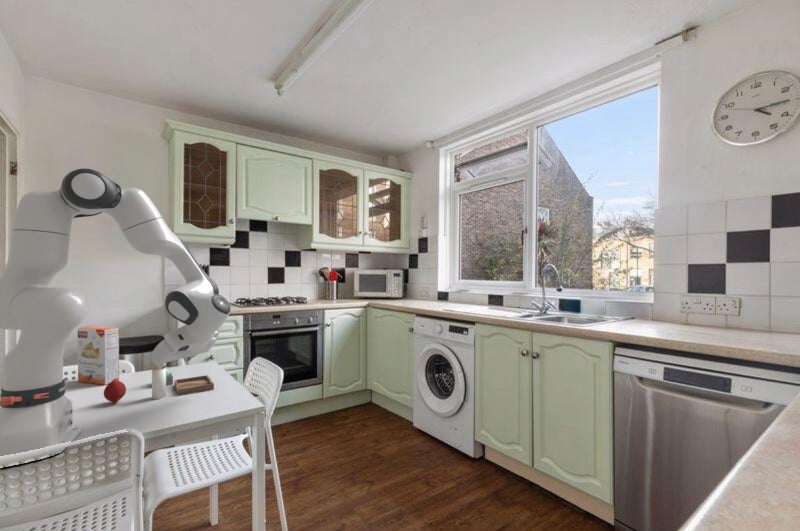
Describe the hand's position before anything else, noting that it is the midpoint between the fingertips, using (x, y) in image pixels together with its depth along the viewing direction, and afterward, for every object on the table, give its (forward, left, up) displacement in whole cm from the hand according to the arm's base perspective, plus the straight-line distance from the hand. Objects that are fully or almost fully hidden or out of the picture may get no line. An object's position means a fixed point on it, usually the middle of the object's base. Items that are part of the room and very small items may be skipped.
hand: (173, 363), depth 127 cm
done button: (+21, +2, -10) cm, 24 cm away
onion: (+7, +16, -12) cm, 21 cm away
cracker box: (+38, +22, -12) cm, 46 cm away
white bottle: (+5, +4, -12) cm, 14 cm away
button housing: (+21, +2, -12) cm, 25 cm away
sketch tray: (+10, -7, -12) cm, 18 cm away
